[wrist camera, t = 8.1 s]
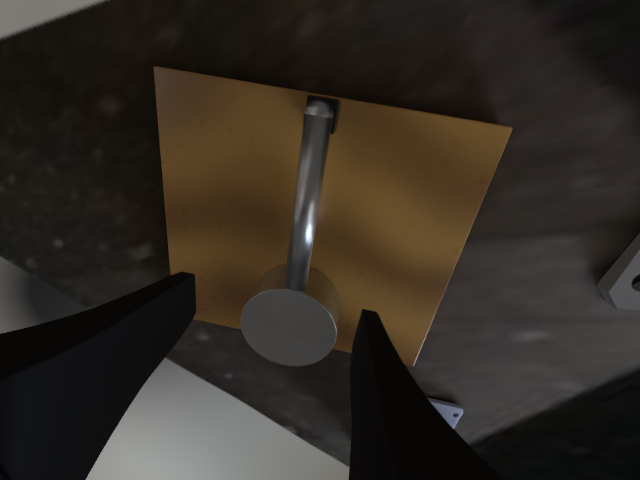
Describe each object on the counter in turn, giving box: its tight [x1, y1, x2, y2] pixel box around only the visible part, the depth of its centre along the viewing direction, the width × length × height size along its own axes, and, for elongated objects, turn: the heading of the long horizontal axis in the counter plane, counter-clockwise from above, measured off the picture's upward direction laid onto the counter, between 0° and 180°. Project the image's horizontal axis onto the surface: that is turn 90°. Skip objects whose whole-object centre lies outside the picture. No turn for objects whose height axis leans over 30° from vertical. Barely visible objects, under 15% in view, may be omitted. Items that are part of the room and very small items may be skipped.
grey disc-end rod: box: [240, 95, 341, 366], centre depth 18 cm, size 17×6×3 cm, turn 171°
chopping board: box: [153, 66, 513, 366], centre depth 20 cm, size 18×20×2 cm
